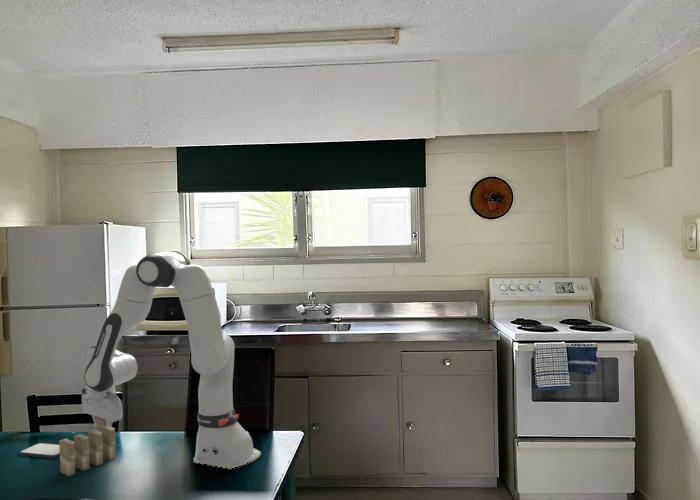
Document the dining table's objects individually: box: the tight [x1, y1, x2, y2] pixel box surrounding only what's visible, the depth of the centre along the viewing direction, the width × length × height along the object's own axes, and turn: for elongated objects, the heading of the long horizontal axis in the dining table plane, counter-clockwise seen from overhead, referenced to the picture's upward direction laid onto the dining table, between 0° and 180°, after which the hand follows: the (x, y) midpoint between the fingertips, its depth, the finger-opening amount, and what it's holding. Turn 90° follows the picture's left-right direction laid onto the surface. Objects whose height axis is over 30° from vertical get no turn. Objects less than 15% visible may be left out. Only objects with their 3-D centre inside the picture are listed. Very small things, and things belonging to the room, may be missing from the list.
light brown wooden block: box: [87, 429, 104, 466], centre depth 174 cm, size 2×5×10 cm, turn 55°
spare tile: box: [96, 417, 107, 432], centre depth 188 cm, size 2×5×10 cm, turn 54°
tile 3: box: [73, 433, 90, 472], centre depth 170 cm, size 2×5×10 cm, turn 54°
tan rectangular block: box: [101, 426, 117, 461], centre depth 177 cm, size 2×5×10 cm, turn 54°
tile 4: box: [58, 438, 76, 477], centre depth 166 cm, size 2×5×10 cm, turn 54°
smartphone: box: [19, 442, 60, 460], centre depth 184 cm, size 9×2×16 cm
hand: (103, 429), depth 188 cm, fingers closed on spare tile, 5 cm apart
